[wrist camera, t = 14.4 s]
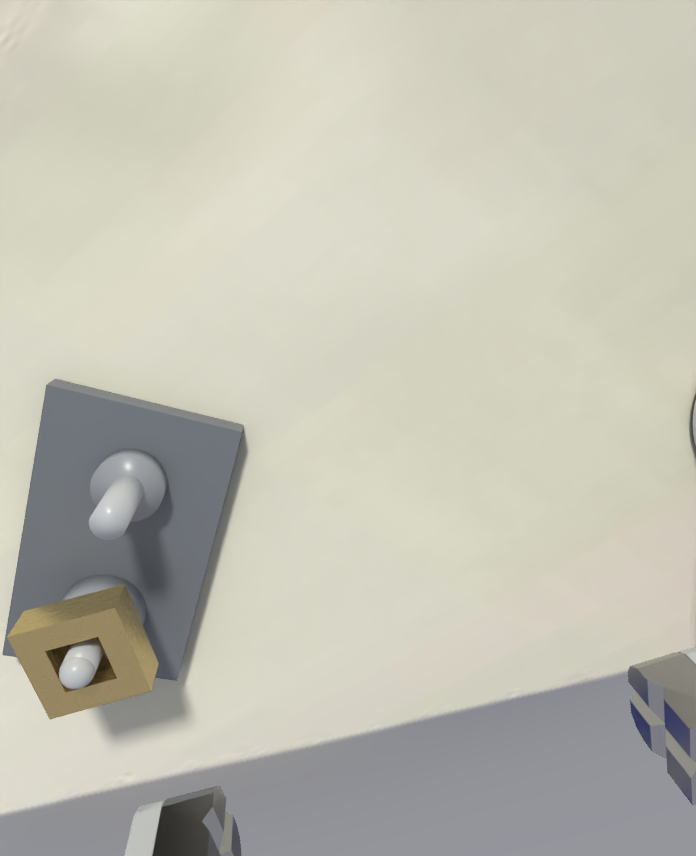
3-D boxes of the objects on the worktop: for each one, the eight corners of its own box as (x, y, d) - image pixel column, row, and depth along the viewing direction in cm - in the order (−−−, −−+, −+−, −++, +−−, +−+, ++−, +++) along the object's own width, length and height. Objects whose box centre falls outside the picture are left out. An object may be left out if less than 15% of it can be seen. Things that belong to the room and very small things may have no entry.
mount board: (243, 425, 39) (236, 473, 31) (179, 666, 44) (159, 761, 36) (55, 378, 36) (-6, 418, 28) (11, 640, 41) (-51, 736, 33)
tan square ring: (125, 583, 36) (114, 607, 34) (158, 663, 38) (151, 691, 36) (24, 610, 36) (6, 636, 34) (63, 689, 38) (50, 719, 36)
